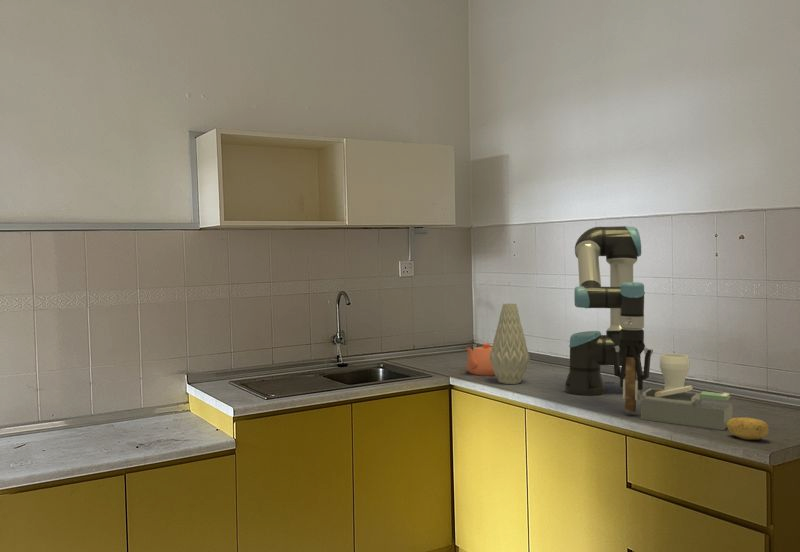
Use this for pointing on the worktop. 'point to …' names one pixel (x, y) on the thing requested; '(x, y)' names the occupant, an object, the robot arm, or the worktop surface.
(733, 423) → the potato
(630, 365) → the brown rounded rod
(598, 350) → the robot arm
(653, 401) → the grey storage bin
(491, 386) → the worktop surface
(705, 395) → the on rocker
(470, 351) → the teapot
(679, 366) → the cup
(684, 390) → the rocker
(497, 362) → the vase
